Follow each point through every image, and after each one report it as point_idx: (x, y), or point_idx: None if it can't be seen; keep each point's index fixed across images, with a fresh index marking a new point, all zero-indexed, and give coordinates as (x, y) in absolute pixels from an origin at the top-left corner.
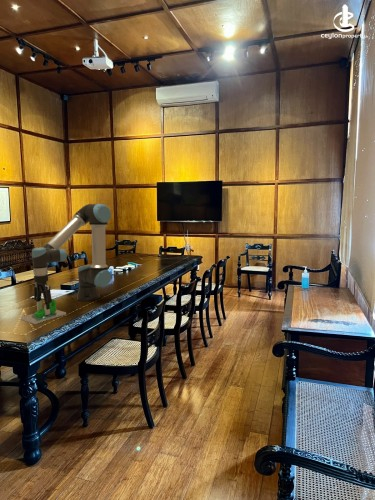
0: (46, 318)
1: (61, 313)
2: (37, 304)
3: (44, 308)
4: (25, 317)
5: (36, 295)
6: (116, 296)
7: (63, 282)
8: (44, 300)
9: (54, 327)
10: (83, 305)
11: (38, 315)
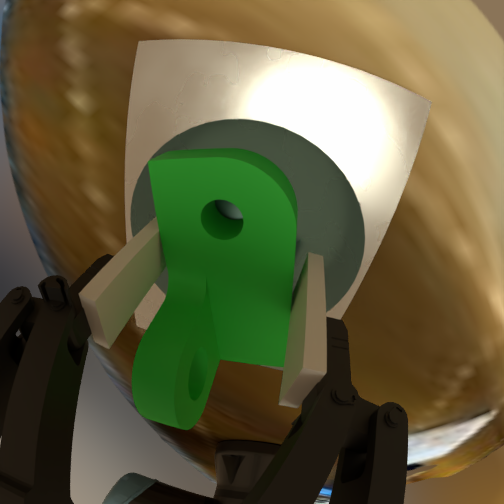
0: (125, 171)
1: (139, 306)
2: (312, 333)
3: (286, 333)
4: (380, 110)
5: (355, 487)
6: (187, 450)
7: (429, 471)
8: (54, 346)
9: (17, 106)
10: (201, 414)
11: (192, 153)
